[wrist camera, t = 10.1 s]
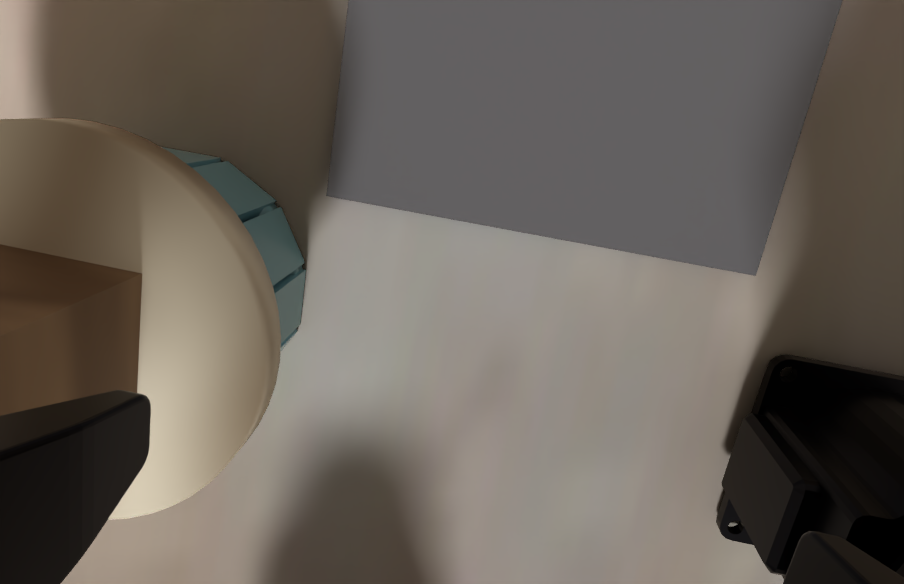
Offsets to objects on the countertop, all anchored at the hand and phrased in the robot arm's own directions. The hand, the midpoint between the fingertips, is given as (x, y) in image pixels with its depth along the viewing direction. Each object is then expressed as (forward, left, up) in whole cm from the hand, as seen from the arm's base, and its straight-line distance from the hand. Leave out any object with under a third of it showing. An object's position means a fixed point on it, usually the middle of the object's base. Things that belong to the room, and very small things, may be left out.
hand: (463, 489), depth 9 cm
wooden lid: (+10, +2, -7) cm, 12 cm away
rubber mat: (-1, -8, -12) cm, 14 cm away
